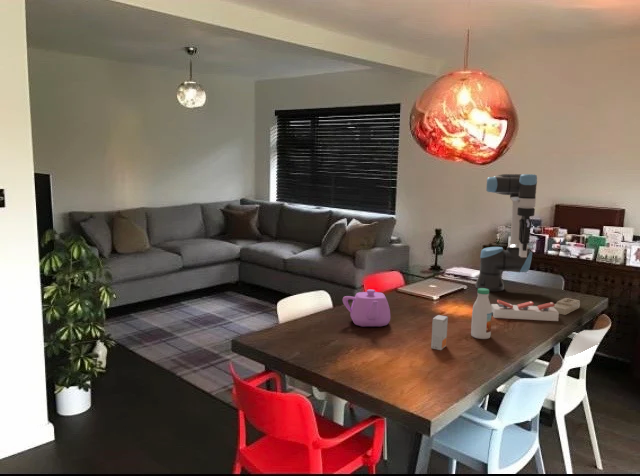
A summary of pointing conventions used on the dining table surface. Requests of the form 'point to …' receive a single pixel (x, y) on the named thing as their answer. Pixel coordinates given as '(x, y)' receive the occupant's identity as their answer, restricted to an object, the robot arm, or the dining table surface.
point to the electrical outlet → (567, 305)
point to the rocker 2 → (525, 304)
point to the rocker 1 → (505, 303)
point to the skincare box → (439, 332)
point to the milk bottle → (481, 315)
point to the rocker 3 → (545, 305)
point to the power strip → (524, 312)
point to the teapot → (368, 308)
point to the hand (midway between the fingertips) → (522, 256)
